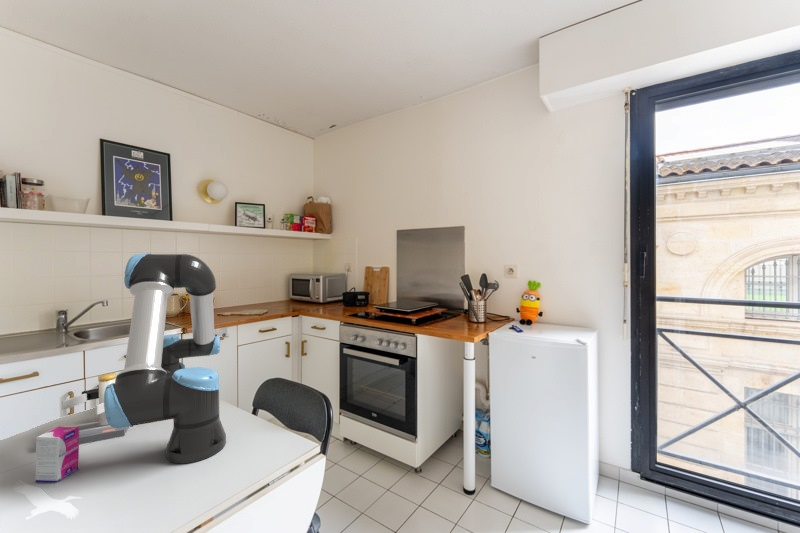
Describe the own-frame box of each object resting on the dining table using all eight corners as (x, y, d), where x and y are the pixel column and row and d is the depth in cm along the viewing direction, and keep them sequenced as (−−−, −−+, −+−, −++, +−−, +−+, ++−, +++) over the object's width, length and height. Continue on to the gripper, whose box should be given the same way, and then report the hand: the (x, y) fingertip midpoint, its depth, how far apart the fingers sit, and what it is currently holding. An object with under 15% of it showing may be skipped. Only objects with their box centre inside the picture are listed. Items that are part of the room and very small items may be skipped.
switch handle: (117, 421, 112) (117, 372, 111) (113, 426, 108) (113, 376, 108) (101, 423, 110) (100, 374, 109) (96, 429, 106) (96, 378, 106)
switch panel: (131, 422, 116) (131, 413, 116) (124, 435, 107) (124, 426, 107) (52, 436, 106) (52, 426, 106) (36, 452, 98) (36, 441, 98)
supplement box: (58, 483, 84) (57, 437, 84) (34, 482, 84) (33, 437, 84) (80, 468, 90) (79, 426, 90) (58, 468, 90) (57, 426, 90)
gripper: (172, 396, 122) (111, 424, 102) (118, 390, 128) (49, 415, 107) (172, 376, 122) (110, 399, 102) (118, 371, 128) (48, 392, 107)
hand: (79, 408), depth 104 cm, fingers open, 13 cm apart
